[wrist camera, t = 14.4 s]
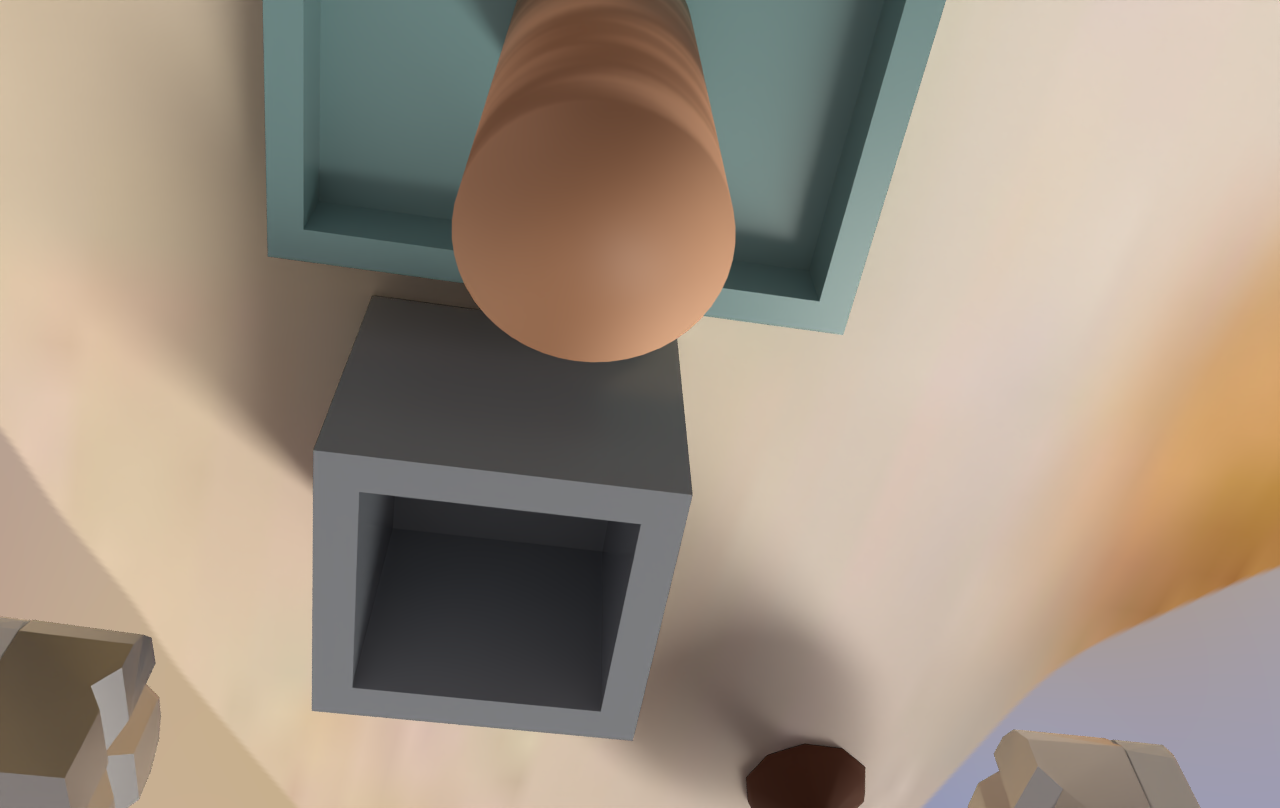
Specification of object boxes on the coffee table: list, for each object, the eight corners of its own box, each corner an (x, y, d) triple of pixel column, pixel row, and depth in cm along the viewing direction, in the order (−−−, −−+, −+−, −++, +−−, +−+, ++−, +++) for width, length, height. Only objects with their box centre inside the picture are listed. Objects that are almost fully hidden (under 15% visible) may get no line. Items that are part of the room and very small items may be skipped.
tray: (966, -193, 28) (1001, -180, 26) (826, 288, 36) (843, 334, 33) (289, -323, 27) (256, -322, 24) (292, 213, 34) (267, 256, 32)
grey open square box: (676, 336, 37) (692, 494, 30) (628, 561, 42) (632, 740, 35) (372, 295, 36) (313, 450, 29) (363, 531, 41) (311, 710, 34)
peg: (709, -41, 29) (763, 126, 18) (675, 140, 32) (705, 378, 21) (520, -73, 29) (462, 79, 18) (502, 113, 32) (442, 343, 21)
